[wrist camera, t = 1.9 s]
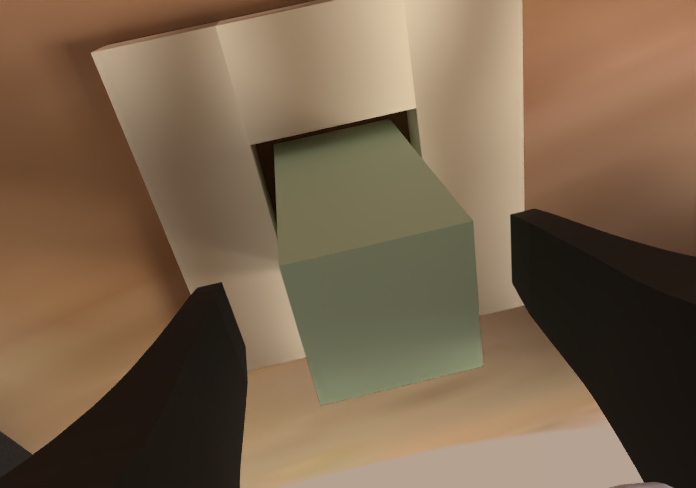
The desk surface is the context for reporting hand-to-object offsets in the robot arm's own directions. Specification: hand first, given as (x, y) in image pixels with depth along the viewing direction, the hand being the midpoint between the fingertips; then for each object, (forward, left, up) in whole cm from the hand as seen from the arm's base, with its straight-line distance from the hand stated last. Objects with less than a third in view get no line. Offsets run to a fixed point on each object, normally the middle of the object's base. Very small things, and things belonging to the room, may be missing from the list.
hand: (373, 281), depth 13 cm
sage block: (0, 0, -6) cm, 6 cm away
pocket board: (0, 0, -6) cm, 6 cm away
